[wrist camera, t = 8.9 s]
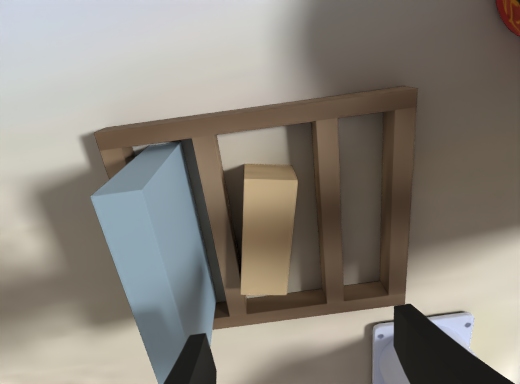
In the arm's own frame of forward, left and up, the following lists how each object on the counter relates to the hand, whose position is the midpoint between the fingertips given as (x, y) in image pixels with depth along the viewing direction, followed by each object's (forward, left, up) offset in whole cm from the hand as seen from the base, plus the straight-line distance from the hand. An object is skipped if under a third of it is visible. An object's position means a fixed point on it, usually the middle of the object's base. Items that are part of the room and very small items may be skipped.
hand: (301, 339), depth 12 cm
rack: (0, 0, -10) cm, 10 cm away
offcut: (0, +1, -11) cm, 11 cm away
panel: (0, +6, -10) cm, 12 cm away
